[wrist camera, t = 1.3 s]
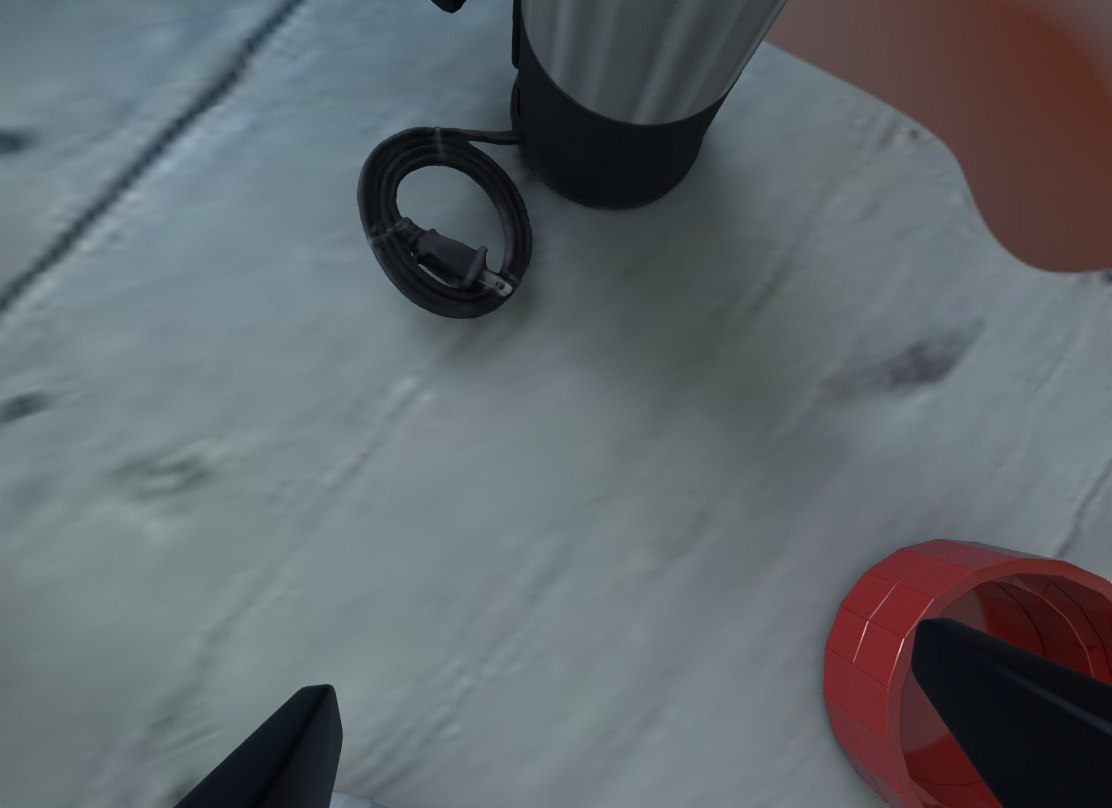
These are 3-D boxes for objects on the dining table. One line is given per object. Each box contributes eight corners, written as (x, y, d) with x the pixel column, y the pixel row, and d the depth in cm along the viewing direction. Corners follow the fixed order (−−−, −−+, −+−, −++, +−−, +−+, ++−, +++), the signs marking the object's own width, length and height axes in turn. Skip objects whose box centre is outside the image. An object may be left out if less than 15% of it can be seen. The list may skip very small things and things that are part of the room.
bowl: (1018, 850, 24) (1133, 944, 20) (778, 752, 24) (840, 825, 19) (1096, 596, 25) (1222, 630, 21) (869, 497, 25) (948, 509, 20)
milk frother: (719, 52, 26) (994, -473, 11) (666, 367, 24) (899, 251, 10) (429, -16, 25) (303, -687, 10) (358, 306, 23) (92, 76, 9)
